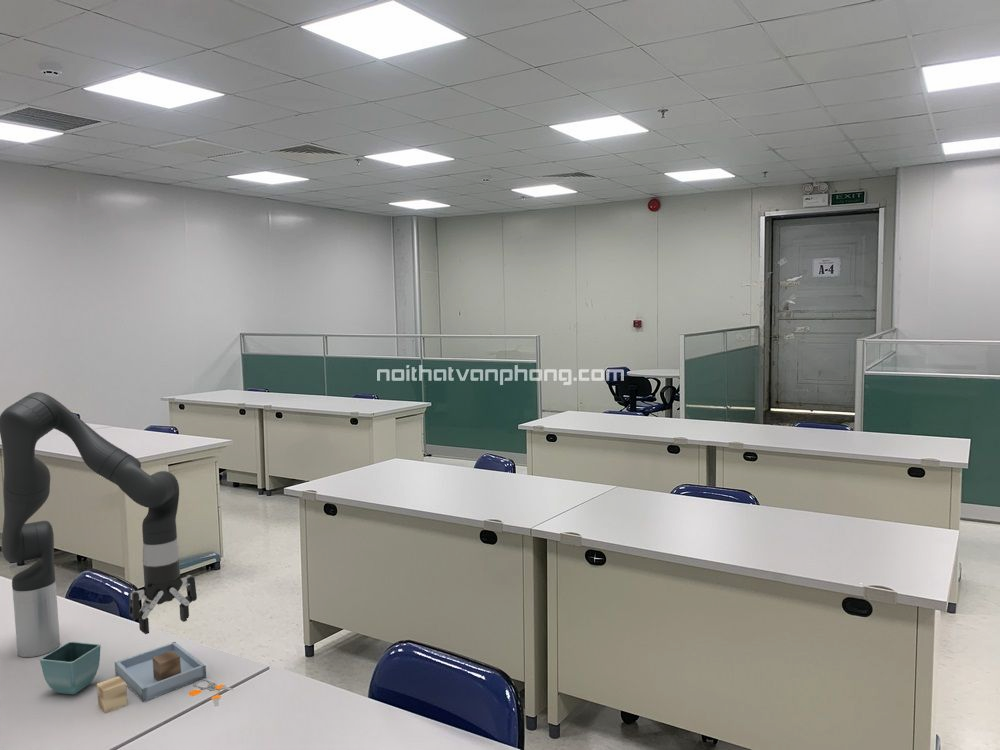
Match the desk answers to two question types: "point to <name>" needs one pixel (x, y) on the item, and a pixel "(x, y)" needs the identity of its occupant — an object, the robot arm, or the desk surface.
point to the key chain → (218, 687)
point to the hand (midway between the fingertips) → (165, 626)
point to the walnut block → (166, 665)
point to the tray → (142, 677)
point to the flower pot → (71, 666)
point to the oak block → (112, 694)
